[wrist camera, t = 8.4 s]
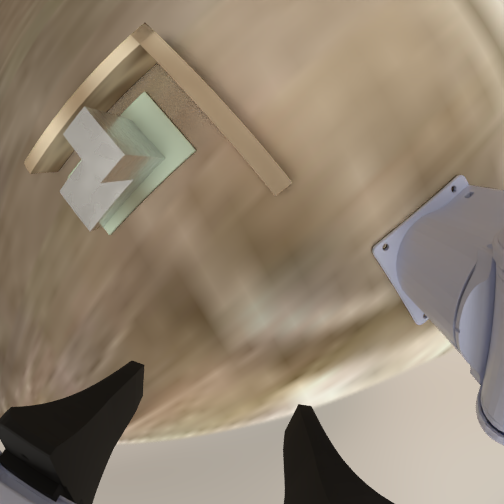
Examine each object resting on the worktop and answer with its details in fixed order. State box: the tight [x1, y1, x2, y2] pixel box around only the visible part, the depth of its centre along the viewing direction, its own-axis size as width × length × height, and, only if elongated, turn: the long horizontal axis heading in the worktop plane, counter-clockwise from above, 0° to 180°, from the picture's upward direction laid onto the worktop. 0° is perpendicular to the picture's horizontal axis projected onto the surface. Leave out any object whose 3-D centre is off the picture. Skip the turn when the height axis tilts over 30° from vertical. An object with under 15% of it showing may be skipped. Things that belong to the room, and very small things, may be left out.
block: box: [60, 106, 165, 232], centre depth 17 cm, size 7×4×6 cm, turn 131°
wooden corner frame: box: [24, 23, 293, 235], centre depth 18 cm, size 13×14×4 cm
